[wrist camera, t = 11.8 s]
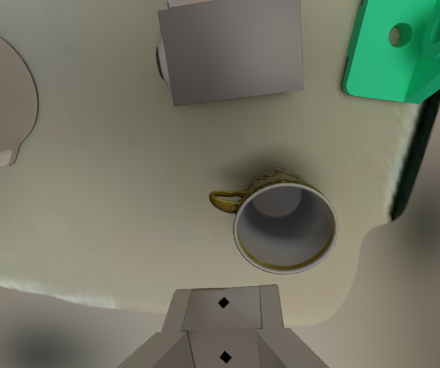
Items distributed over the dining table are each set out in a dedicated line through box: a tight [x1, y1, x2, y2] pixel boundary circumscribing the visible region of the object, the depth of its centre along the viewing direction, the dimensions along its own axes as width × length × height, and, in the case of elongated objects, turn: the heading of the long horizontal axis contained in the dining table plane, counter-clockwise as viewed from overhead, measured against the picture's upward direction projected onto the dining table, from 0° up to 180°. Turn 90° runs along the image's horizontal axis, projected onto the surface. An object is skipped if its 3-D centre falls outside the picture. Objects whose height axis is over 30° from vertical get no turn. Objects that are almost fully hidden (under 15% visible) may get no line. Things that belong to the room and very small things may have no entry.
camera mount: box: [342, 0, 440, 104], centre depth 27 cm, size 12×8×10 cm, turn 173°
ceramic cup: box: [209, 167, 338, 274], centre depth 34 cm, size 13×10×10 cm
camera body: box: [156, 0, 303, 106], centre depth 30 cm, size 13×8×7 cm, turn 97°
